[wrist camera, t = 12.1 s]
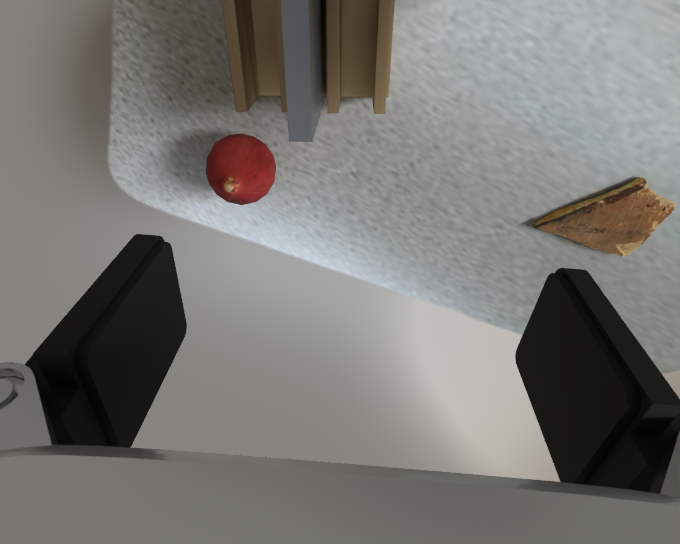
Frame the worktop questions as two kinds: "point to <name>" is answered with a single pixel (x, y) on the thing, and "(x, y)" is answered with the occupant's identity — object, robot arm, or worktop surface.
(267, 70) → the rack
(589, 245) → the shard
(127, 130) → the worktop surface
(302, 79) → the plate
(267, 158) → the onion
